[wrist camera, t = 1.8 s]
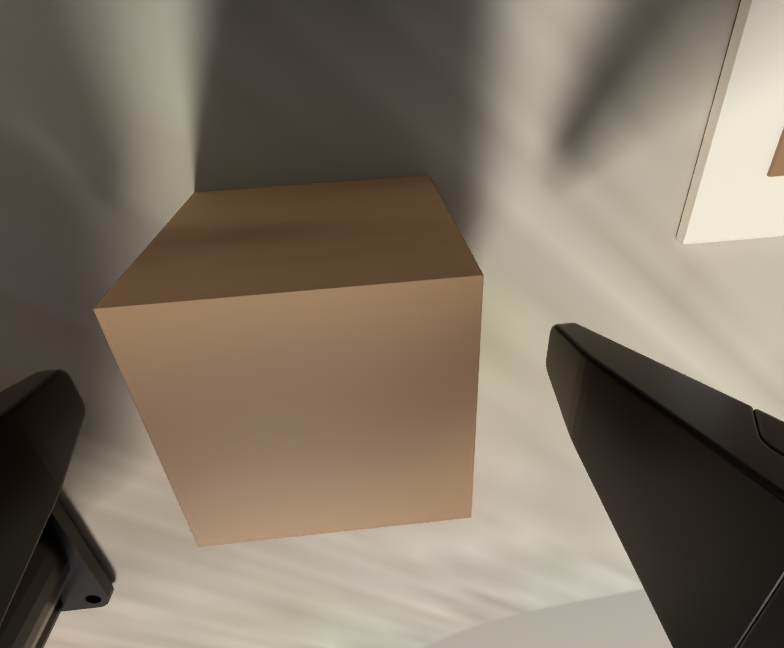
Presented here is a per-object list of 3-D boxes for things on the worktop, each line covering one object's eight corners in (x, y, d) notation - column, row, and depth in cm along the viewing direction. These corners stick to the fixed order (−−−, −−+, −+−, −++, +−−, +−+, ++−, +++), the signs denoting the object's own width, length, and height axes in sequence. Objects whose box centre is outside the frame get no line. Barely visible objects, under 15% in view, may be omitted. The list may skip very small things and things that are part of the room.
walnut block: (430, 358, 13) (471, 516, 9) (245, 376, 13) (198, 547, 9) (427, 173, 11) (483, 275, 6) (195, 191, 10) (92, 308, 6)
